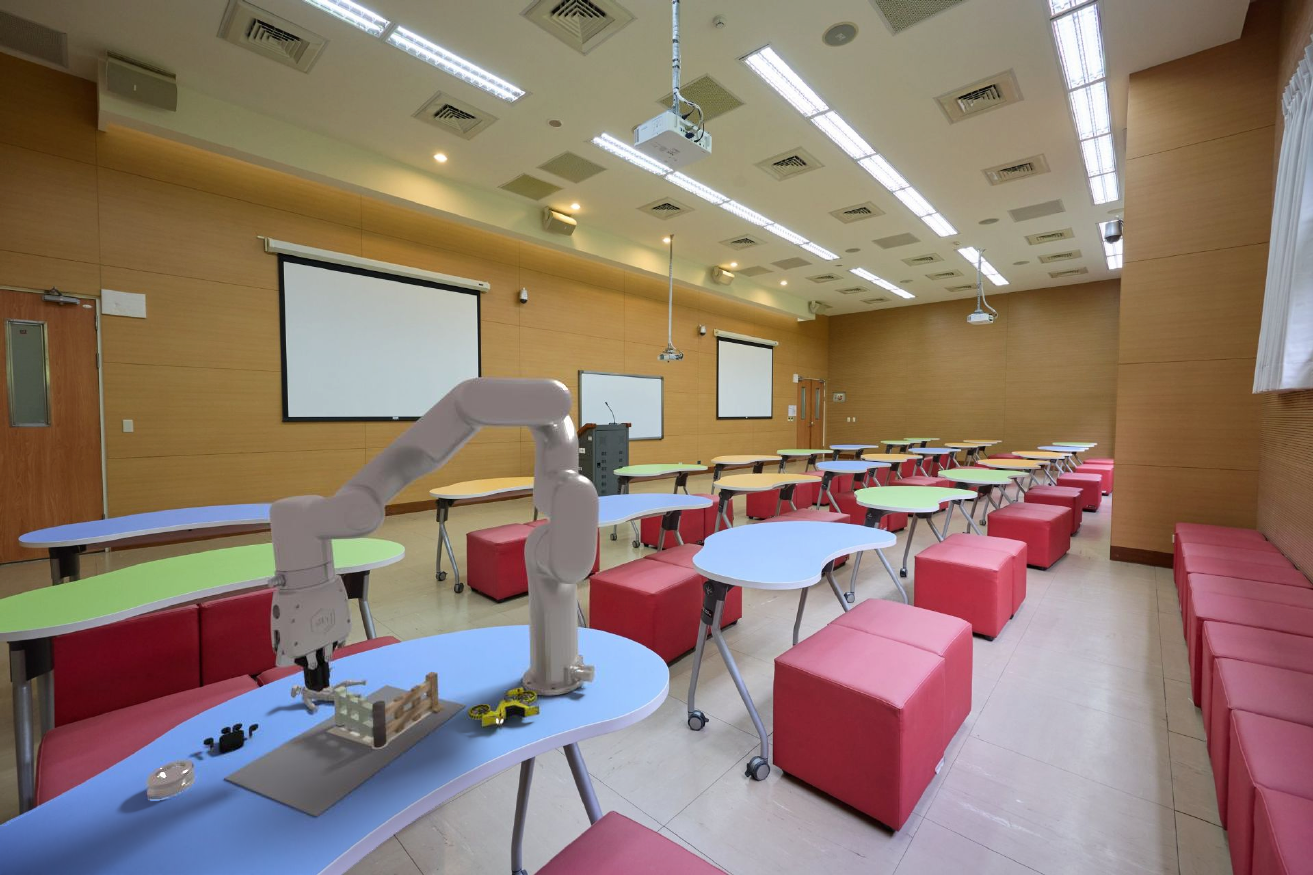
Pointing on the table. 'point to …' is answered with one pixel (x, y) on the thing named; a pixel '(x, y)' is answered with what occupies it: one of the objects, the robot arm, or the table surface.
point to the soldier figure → (323, 692)
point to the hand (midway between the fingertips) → (318, 687)
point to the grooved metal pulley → (170, 779)
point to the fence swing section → (353, 711)
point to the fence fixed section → (397, 708)
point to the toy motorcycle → (506, 708)
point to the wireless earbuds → (230, 738)
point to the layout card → (334, 758)
